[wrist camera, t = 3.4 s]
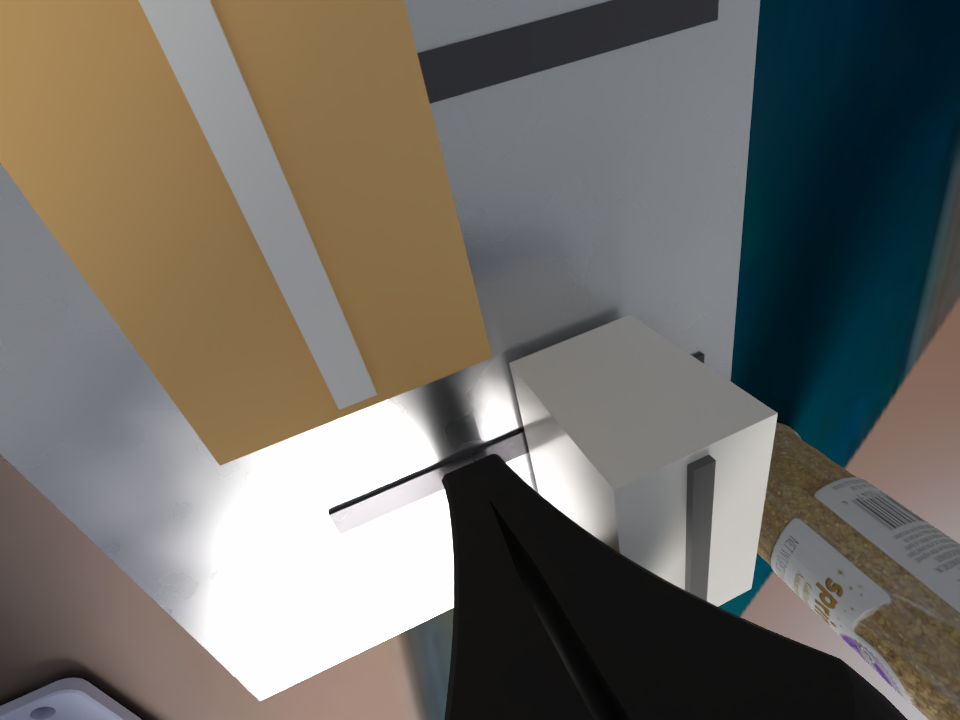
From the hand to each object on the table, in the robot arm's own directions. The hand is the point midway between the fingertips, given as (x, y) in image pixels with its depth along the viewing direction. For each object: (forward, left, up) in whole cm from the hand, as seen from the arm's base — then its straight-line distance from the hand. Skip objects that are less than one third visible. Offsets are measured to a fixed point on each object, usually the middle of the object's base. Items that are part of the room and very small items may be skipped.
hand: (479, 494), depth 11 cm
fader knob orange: (-1, +8, -1) cm, 8 cm away
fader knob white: (+3, 0, -1) cm, 3 cm away
